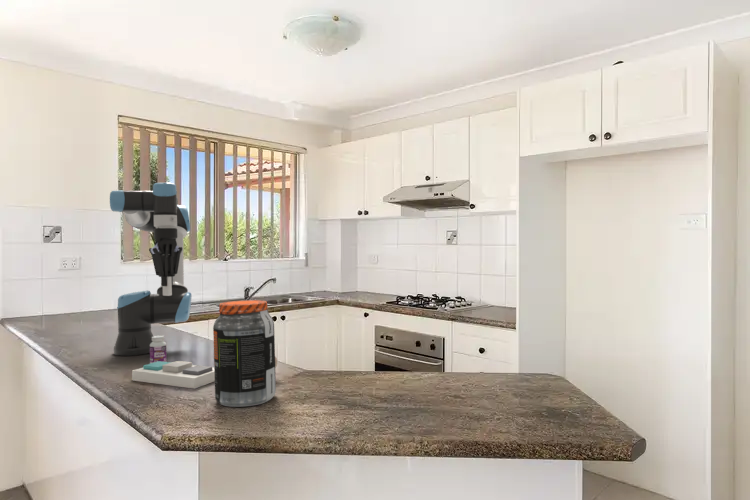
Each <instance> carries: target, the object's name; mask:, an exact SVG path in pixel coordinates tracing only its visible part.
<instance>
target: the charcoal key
mask: <svg viewBox="0 0 750 500" xmlns="http://www.w3.org/2000/svg"><path fill="white" fill-rule="evenodd" d="M212 367H213V366H209V365H208V366H206V365H199V364H198V365H196V364H195V366H193V367H190V368H187V369H183V370H182V371H183V374H190V375H201V374H204V373H207V372H210V371H212Z"/></svg>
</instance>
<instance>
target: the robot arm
mask: <svg viewBox="0 0 750 500" xmlns="http://www.w3.org/2000/svg"><path fill="white" fill-rule="evenodd" d="M177 193H178V192H177V185H176V184H175V183H173V182H156V183H154V184H153V185H152V190H122V189H119V190H111V192H110V193H109V208H110V210H111V211H112V212H118V213H123V214H124V218H125V221H126V223H127V224H129V225H130V226H131V227H133V228H134V229H137V230H140V231H142V232H143V231H144V232H147V233H148V232H151V233H153V238H154V239H155V242H154V246H153V247H149V249H148V251H149V253H150V254H151V258H152V259H151V260H152V262H153V267H154V273H155V275H156V276H158V277H159V278H160V286H159V287H158V288H157V290H156V293H151V291H150V290H142V291H135V292H130V293H124V294H121V295H120V296H119V297H118V298H117V307H116V309H117V321H118V322H117V327H118V328H117V331H118V333H117V337H116V341H115V343H114V347H113V355H115V356H122V357H123V356H124V357H125V356H128V357H131V356H139V355H146V354H150V344H151V343H152V342H153V341H152V337H153V336H154V335H153V332H152V325H155V324H174V323H176V324H177V323H183V322H187V321H188V319H189V318H190V314H191V308H192V307H191V306H192V293H191V292H190V291H189V289H188V287H186V286H185V284H184V283H185V282H184V279H185V278H184V277H185V276H184V274H185V273H184V271H185V270H184V238H185V237H187V234H188V232H190V231H191V223H190V215H189V211H188V208H187V206H185V205H184V204H183V205H181V204H180V205H179V204H178V200H179V199H178V197H177V195H178V194H177Z"/></svg>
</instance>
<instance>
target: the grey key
mask: <svg viewBox="0 0 750 500" xmlns="http://www.w3.org/2000/svg"><path fill="white" fill-rule="evenodd" d="M192 365H193V362H191V361H182V360H176V361H173V362H171V363H168V364H165V365H163V371H164V372H173V373H179V372H182V370H183V369H187V368H190V367H192Z"/></svg>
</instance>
